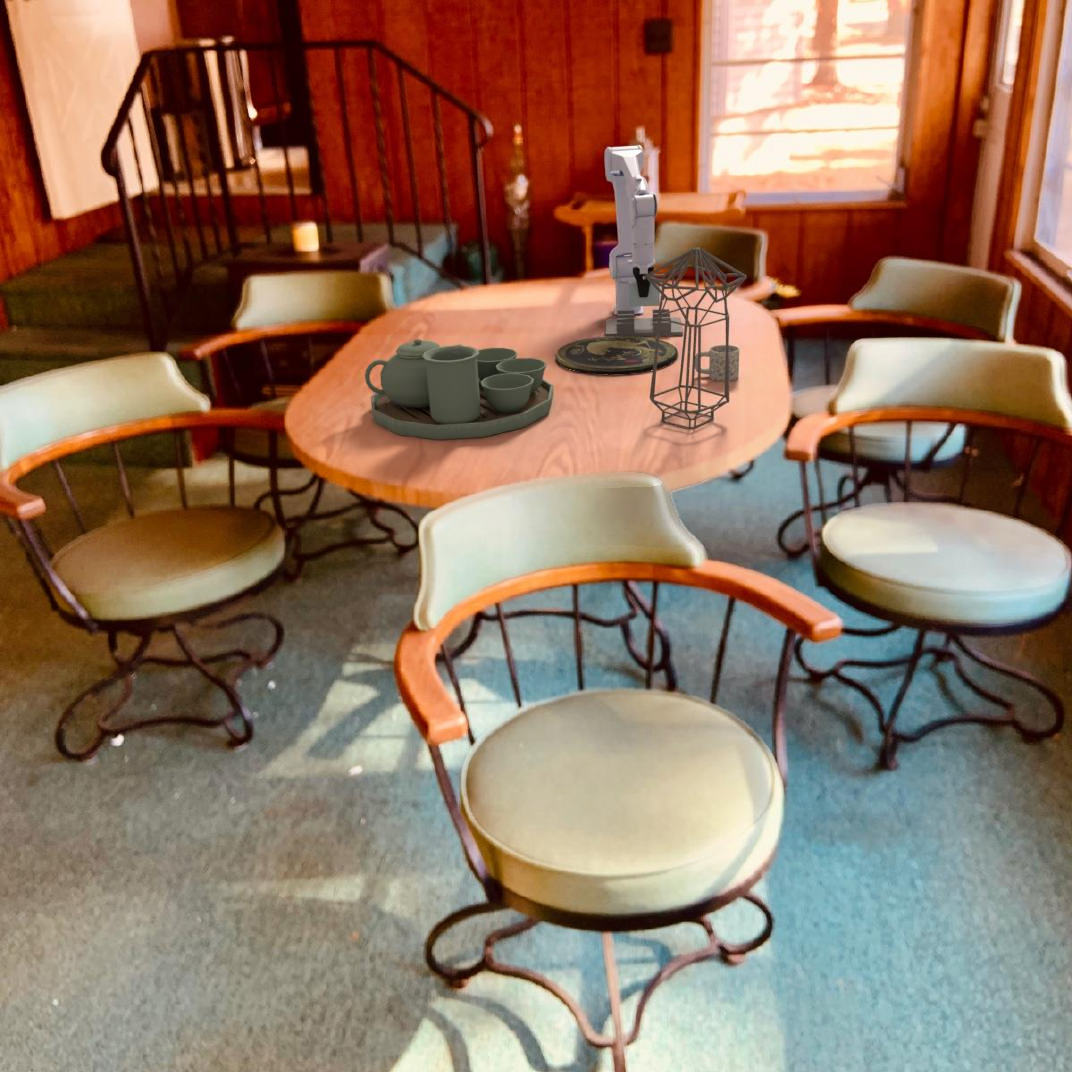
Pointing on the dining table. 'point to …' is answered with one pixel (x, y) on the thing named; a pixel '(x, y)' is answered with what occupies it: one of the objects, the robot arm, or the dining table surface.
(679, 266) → the geometric lantern
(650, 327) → the grey slotted organizer
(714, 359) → the mug
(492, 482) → the dining table surface
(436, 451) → the dining table surface
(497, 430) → the tea set
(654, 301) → the grey rectangular block
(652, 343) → the decorative plate
